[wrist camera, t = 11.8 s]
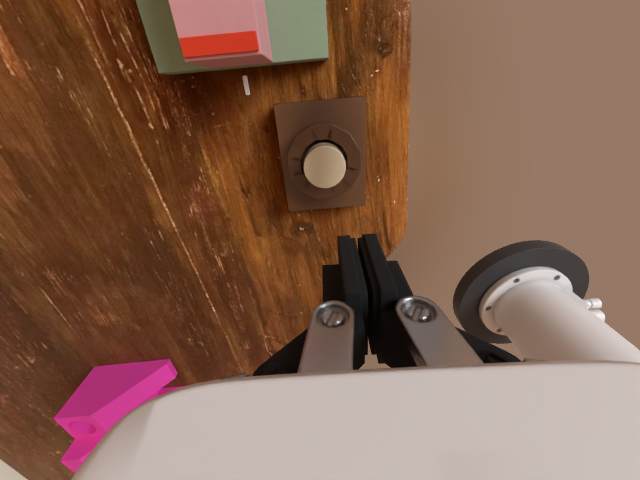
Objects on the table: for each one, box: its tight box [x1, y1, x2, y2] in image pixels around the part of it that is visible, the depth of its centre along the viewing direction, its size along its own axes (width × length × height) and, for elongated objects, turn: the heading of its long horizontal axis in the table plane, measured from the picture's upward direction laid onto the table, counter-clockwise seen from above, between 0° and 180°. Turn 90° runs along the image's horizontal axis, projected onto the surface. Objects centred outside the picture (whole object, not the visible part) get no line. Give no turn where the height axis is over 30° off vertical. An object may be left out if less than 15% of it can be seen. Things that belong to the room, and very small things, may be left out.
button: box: [304, 142, 346, 188], centre depth 24 cm, size 4×4×2 cm
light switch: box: [273, 96, 366, 212], centre depth 26 cm, size 8×10×4 cm
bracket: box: [54, 359, 185, 473], centre depth 40 cm, size 12×10×10 cm
